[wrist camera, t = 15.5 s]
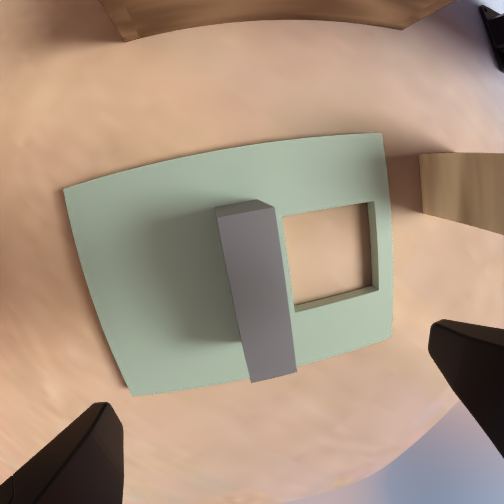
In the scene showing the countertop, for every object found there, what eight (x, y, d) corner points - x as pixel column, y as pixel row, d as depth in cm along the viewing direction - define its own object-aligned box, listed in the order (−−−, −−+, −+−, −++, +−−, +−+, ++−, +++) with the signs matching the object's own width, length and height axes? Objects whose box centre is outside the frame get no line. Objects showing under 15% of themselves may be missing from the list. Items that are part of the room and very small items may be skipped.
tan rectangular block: (456, 152, 16) (541, 156, 9) (459, 206, 17) (542, 226, 10) (418, 153, 15) (510, 154, 9) (422, 213, 16) (512, 237, 10)
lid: (373, 133, 15) (423, 125, 10) (385, 331, 18) (422, 365, 14) (69, 188, 13) (25, 194, 9) (134, 388, 16) (122, 438, 12)
